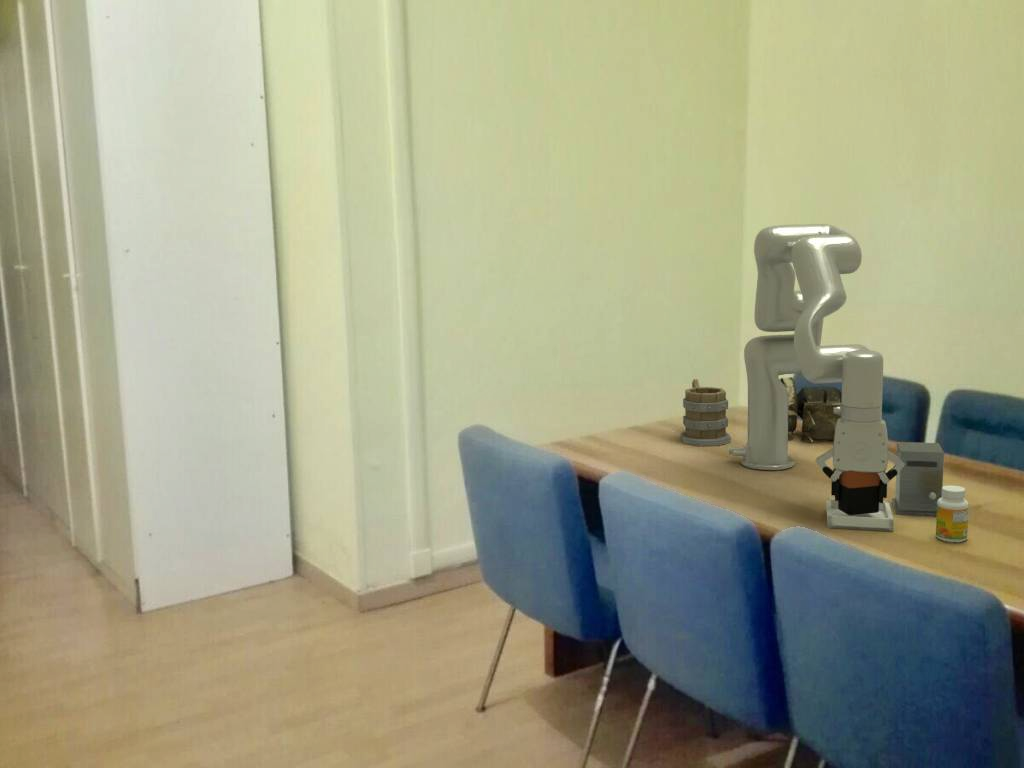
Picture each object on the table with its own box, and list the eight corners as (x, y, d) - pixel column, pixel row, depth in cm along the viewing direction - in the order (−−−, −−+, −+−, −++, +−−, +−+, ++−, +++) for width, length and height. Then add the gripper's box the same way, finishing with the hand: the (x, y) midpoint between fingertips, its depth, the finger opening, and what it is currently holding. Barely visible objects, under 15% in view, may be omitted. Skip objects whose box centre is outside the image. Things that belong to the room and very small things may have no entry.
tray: (827, 528, 192) (827, 516, 192) (826, 509, 203) (826, 498, 203) (893, 531, 189) (893, 519, 188) (888, 512, 200) (888, 501, 199)
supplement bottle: (930, 534, 186) (932, 485, 185) (957, 532, 187) (959, 483, 185) (944, 544, 181) (947, 493, 179) (972, 542, 181) (975, 491, 180)
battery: (879, 513, 194) (881, 464, 192) (848, 516, 193) (849, 467, 191) (868, 506, 198) (869, 458, 197) (837, 509, 197) (838, 461, 196)
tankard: (733, 445, 260) (734, 390, 257) (685, 447, 260) (685, 391, 257) (718, 429, 279) (718, 377, 277) (674, 430, 280) (674, 378, 277)
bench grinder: (773, 415, 279) (775, 357, 267) (854, 411, 275) (860, 352, 264) (783, 462, 262) (785, 403, 251) (869, 458, 259) (875, 398, 247)
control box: (895, 514, 199) (897, 451, 197) (891, 500, 208) (893, 441, 205) (944, 516, 196) (947, 453, 194) (938, 503, 205) (941, 442, 203)
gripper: (814, 416, 191) (813, 503, 194) (910, 419, 186) (907, 508, 189) (814, 408, 198) (812, 492, 201) (906, 410, 193) (903, 496, 196)
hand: (858, 499), depth 195 cm, fingers closed on battery, 7 cm apart
